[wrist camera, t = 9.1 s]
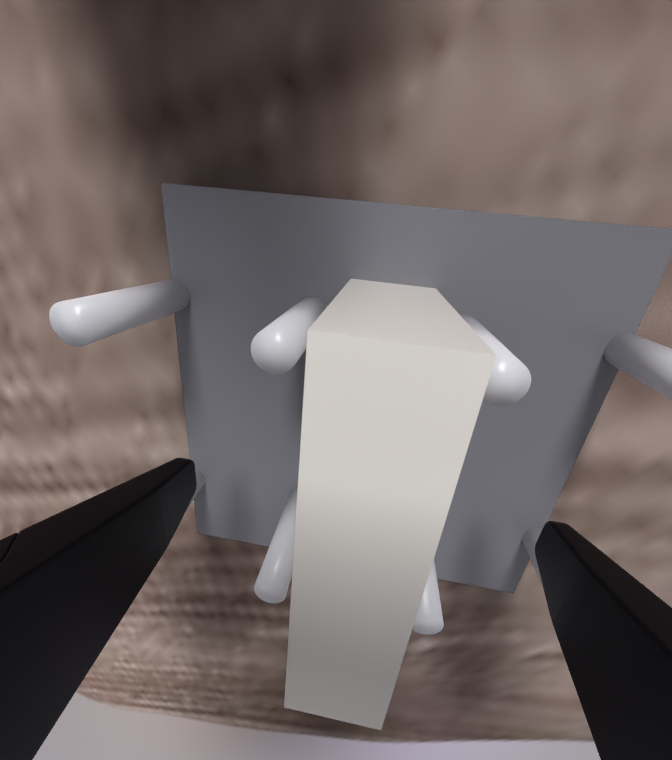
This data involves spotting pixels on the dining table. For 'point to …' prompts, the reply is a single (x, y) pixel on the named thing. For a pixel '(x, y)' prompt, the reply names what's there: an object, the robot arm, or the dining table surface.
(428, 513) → the tile
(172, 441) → the dining table surface
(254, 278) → the rack
